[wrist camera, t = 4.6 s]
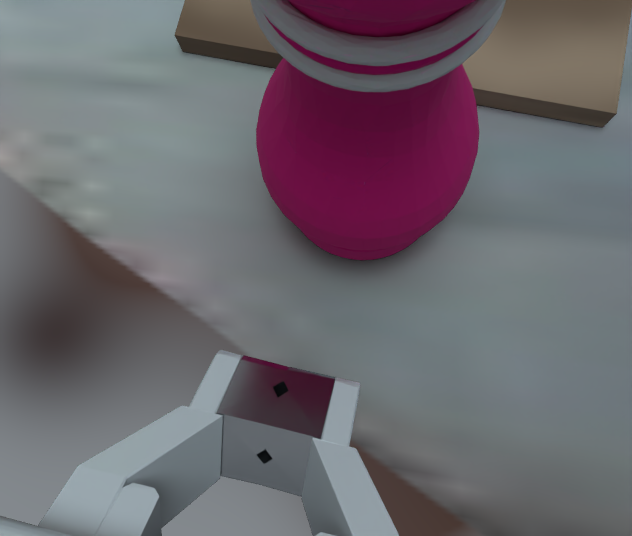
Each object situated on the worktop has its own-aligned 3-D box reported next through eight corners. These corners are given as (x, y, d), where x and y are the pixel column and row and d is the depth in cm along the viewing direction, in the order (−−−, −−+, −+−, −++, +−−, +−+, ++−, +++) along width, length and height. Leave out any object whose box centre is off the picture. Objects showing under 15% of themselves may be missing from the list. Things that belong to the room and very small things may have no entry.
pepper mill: (255, 251, 23) (-349, -562, 3) (297, 90, 24) (62, -1219, 4) (432, 290, 22) (1133, -441, 2) (467, 122, 23) (1108, -1272, 4)
